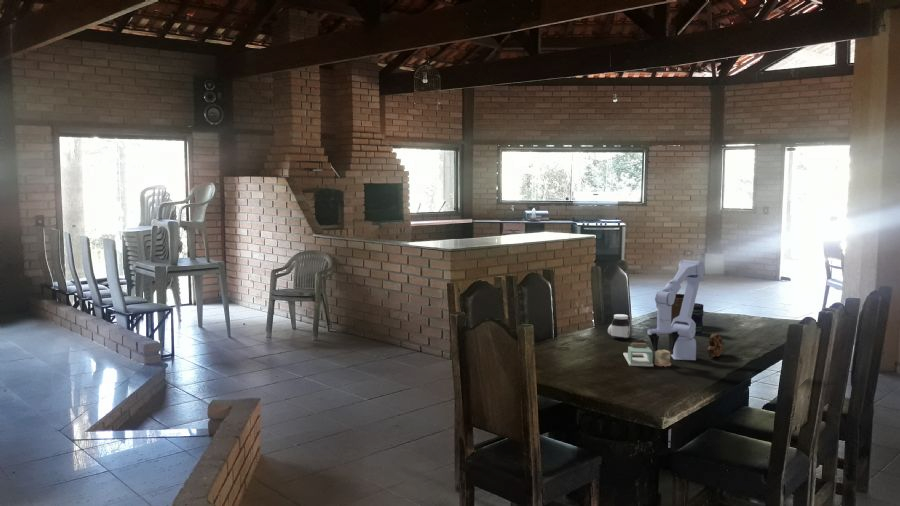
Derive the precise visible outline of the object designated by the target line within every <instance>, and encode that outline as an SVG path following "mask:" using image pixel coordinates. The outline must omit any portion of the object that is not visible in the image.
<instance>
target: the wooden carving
mask: <svg viewBox="0 0 900 506" xmlns="http://www.w3.org/2000/svg"><path fill="white" fill-rule="evenodd" d="M708 343H709V346H707V354H708V358H715V357H720V356H721V355H722V353H723V351H724V347H723V345H724V343H725V342H724V341H723V338H722V336H721V335H720V334H719V333H718V334H716V333H715V334H711V335H710V337H708Z"/></svg>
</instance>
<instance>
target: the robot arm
mask: <svg viewBox="0 0 900 506" xmlns="http://www.w3.org/2000/svg"><path fill="white" fill-rule="evenodd" d="M677 268H678V271H677V272H676V274H675V275H674V277H673V279H670V280H669V281H668V282H666V284H665V286H664V287H663V288H662V289H661V290H659V291H657V292H656V294H655V298H654V302H655V304H656V306H655V307H656V309H657V317H656V319H657V320H656V321H657V322H656V328H651V329H650V328H649V329H647V334H646V335H648V338H649V340H650V342H651V345H652V351H654V352H655V351H657V350H659V349H658V347H659V346H658V345H659V339H660V336H659V335H661V334H663V335H664V334H667V335H668V349H669V350H671V351H672V352H673V353H672V354H671V353H670V357H671V358H672V359H673V360H674V361H675V360H676V361H677V360H679V361H680V360H681V361H696V360H697V341H696V339H695V336H696V335H695V327H696V324H695V322H694V321H693V320H692V319H691V316H692V312H693V308H694V303H696V299H697V296H698V290H699V285H700V282H702V281H703V278H704V274H705V271H706V270H705V269H706V268H705V264H704V262H703V261H702V260H689V259H681V260H680V261H679V263H678V267H677ZM684 281H686V282H687V283H686V286H685V290H684V298H683V302H682V307H681V311H680V315H679V316H678V317H676V318H674V319H673V322H672V324H671V308H672V304H673V303H674V300H675V297H676V296H675V295H676V294H678V293H679V291H680V290H681V289H682V287H681V286H682V285H681V284H682V283H683V282H684ZM687 324H688V325H687Z"/></svg>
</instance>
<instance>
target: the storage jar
mask: <svg viewBox="0 0 900 506" xmlns="http://www.w3.org/2000/svg"><path fill="white" fill-rule="evenodd" d="M704 312H705V311H704V304H702V303H697V302H695V303H694V308H693V312H692V316H691V319H692V320H693V321H694V322H695V324H696V327H695V336H700V335H699V334H701V335H703V329H704V327H703V325H704V324H703V319H704V317H703V316H704ZM687 325H688V324H687Z"/></svg>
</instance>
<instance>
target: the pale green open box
mask: <svg viewBox="0 0 900 506" xmlns="http://www.w3.org/2000/svg"><path fill="white" fill-rule="evenodd" d="M627 347H628V348H627V353H628V359H629V361H630V363H632V357H633V355H632V353H646V354H647V359H648V360H649V362H650V363H651V364H652V363H653V349H651V348H650V347H649V346H647V343H646V342H631V346H627Z"/></svg>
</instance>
